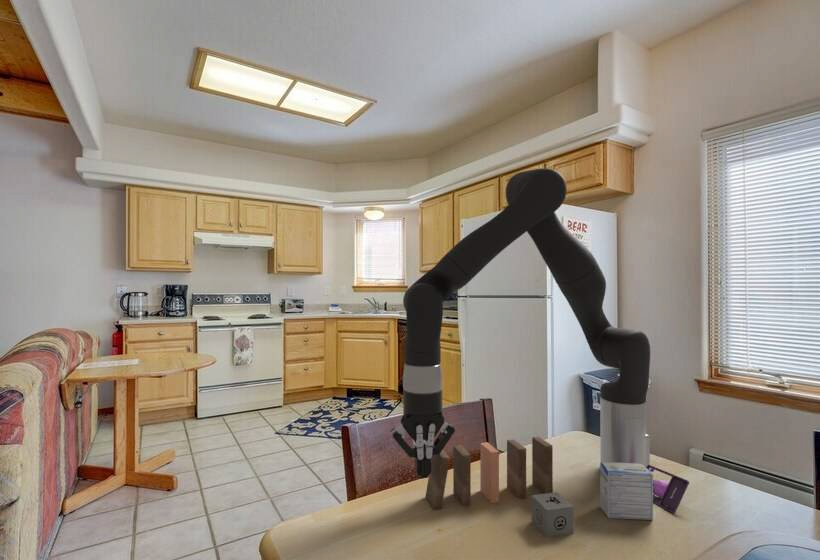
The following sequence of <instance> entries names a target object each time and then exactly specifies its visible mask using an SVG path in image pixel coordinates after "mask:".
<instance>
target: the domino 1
mask: <svg viewBox="0 0 820 560" xmlns="http://www.w3.org/2000/svg"><path fill="white" fill-rule="evenodd" d="M450 460H451V458H450V457H449V455H448V454H447V453H446V451H444V449H443V450H442V451H441V453H440V454H438V455H437V454H435V455H433V456H432V457H431V473H430V474H428V479H427V487H426V493H425V499H426V501H427V502H428V504H429V506H430V508H431V509H432V511H438V510H442V508H443V502H444V501H443V500H444V496H445V495H444V494H445V489H446V483H447V478H448V472H449V464H450Z"/></svg>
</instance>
